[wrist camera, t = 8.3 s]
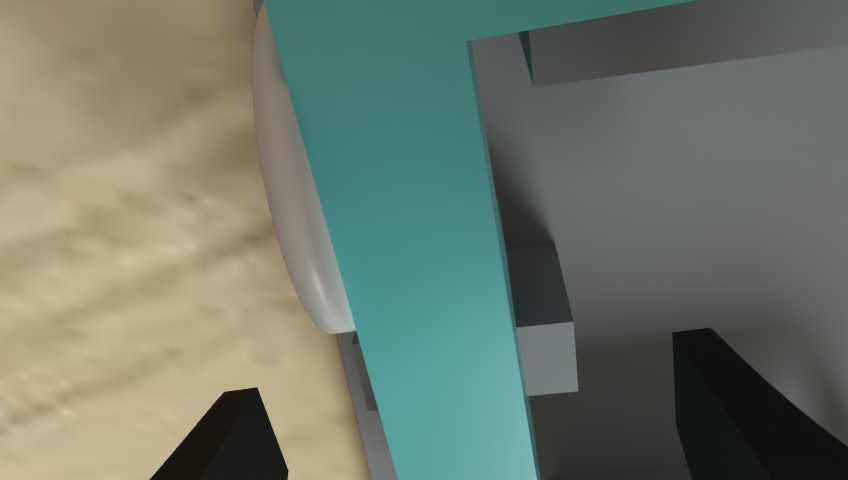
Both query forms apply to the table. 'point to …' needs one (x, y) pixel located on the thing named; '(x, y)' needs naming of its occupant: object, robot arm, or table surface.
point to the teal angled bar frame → (404, 211)
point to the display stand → (663, 220)
